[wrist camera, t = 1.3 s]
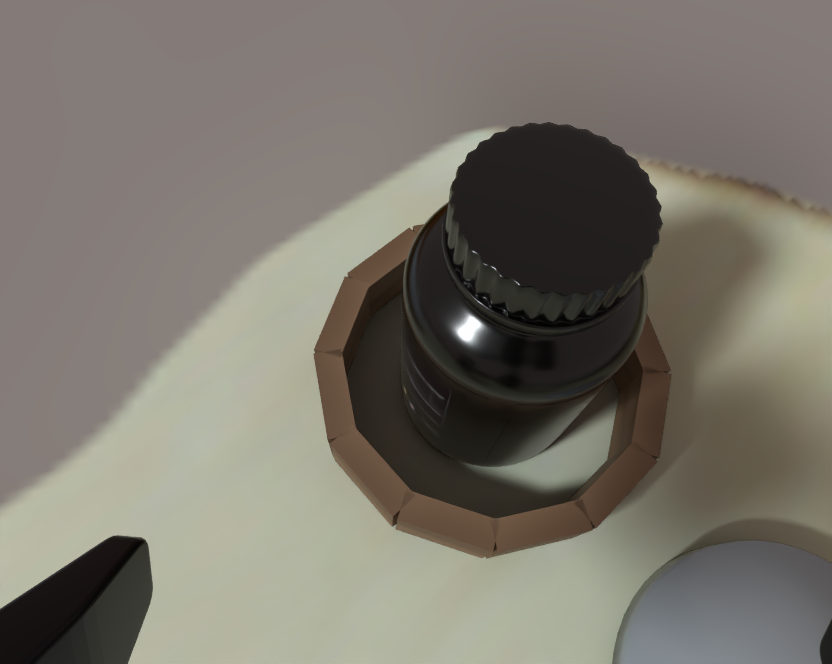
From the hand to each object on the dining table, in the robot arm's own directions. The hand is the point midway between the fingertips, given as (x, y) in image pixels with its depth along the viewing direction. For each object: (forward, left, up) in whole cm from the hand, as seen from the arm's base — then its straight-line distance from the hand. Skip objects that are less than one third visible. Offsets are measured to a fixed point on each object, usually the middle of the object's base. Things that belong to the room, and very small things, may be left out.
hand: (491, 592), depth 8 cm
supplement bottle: (+4, -7, -14) cm, 17 cm away
